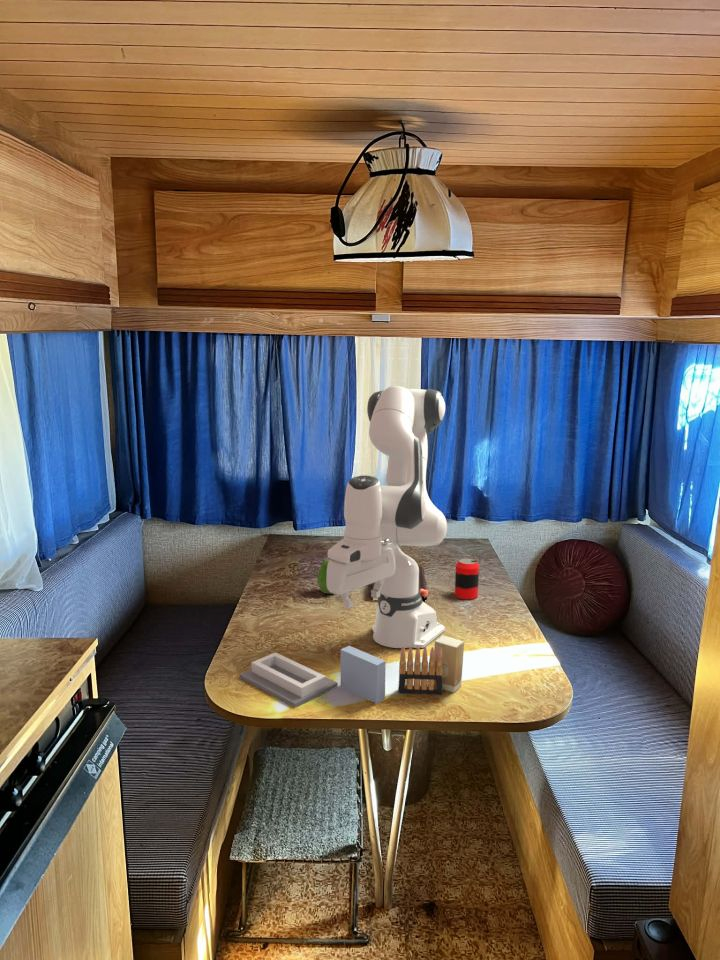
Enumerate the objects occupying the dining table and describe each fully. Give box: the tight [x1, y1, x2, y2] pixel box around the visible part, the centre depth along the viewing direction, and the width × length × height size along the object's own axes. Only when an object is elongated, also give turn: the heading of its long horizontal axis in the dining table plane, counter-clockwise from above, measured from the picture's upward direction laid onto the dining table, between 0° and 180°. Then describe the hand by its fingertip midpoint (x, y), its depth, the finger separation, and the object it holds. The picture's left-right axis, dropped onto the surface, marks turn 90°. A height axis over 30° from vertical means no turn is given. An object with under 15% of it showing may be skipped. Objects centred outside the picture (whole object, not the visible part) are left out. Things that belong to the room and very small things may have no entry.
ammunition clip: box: [397, 646, 443, 696], centre depth 176 cm, size 11×2×12 cm, turn 86°
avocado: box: [317, 558, 332, 595], centre depth 240 cm, size 8×8×12 cm
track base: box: [239, 652, 339, 708], centre depth 181 cm, size 14×21×4 cm, turn 47°
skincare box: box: [433, 634, 465, 693], centre depth 179 cm, size 6×4×12 cm
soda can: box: [454, 558, 480, 600], centre depth 239 cm, size 8×8×12 cm
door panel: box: [339, 645, 386, 705], centre depth 175 cm, size 3×12×10 cm, turn 47°
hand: (362, 602), depth 171 cm, fingers open, 8 cm apart
